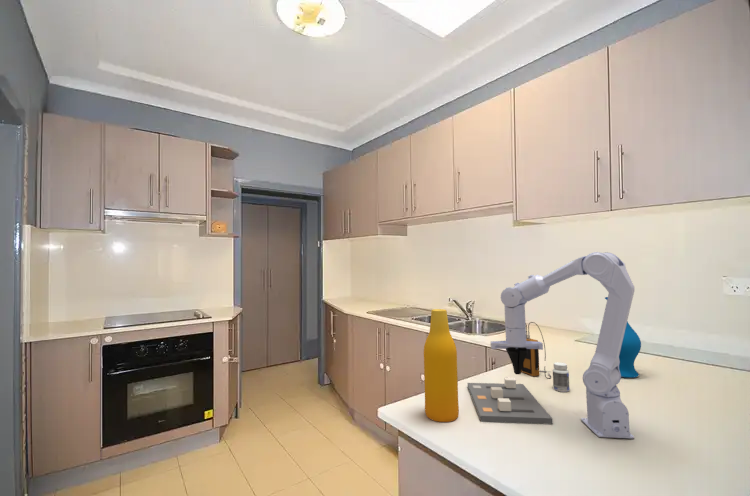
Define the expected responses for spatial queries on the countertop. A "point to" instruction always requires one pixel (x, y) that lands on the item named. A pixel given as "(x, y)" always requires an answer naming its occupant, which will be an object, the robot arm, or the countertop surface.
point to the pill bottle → (560, 377)
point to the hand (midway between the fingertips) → (517, 373)
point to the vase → (629, 352)
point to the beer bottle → (440, 370)
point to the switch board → (521, 405)
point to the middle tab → (496, 392)
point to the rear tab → (510, 382)
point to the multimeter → (532, 358)
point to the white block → (504, 404)
